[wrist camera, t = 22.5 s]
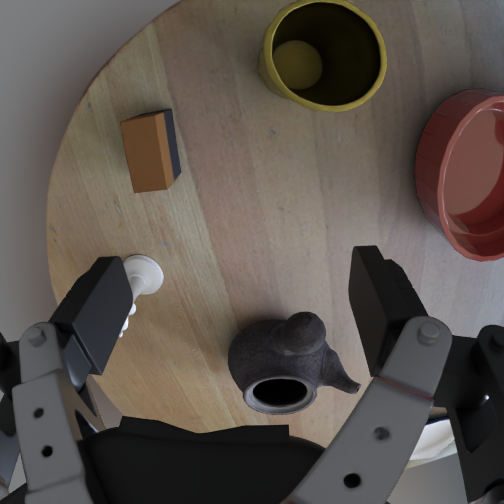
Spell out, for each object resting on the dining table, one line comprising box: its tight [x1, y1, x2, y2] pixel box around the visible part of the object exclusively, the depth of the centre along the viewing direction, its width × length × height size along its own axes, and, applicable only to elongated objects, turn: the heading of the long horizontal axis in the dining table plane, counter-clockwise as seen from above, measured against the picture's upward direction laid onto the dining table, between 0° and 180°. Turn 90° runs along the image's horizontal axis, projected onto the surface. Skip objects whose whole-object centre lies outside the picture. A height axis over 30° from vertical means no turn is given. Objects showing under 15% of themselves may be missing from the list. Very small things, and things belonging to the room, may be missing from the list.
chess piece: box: [119, 255, 164, 337], centre depth 30 cm, size 5×5×10 cm
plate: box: [409, 417, 455, 460], centre depth 54 cm, size 20×20×3 cm
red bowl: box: [415, 88, 504, 262], centre depth 24 cm, size 16×16×6 cm
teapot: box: [228, 312, 361, 415], centre depth 33 cm, size 19×15×10 cm
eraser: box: [120, 109, 181, 193], centre depth 25 cm, size 6×3×4 cm, turn 5°
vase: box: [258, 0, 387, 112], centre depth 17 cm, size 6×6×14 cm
